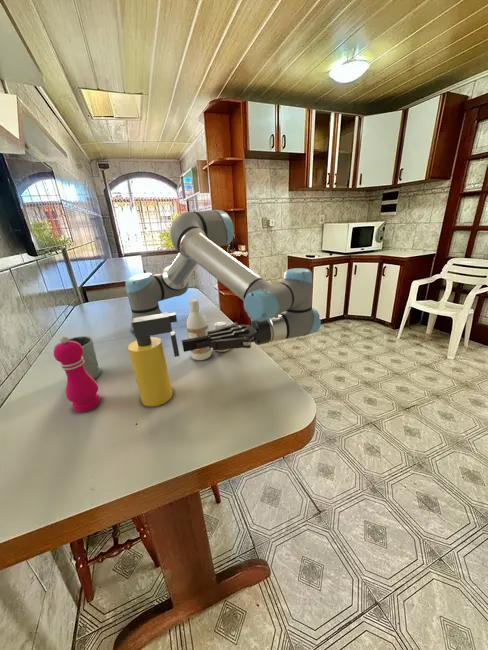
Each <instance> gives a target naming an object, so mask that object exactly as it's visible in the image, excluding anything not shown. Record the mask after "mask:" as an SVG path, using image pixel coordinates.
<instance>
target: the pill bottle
mask: <svg viewBox="0 0 488 650" xmlns="http://www.w3.org/2000/svg"><path fill="white" fill-rule="evenodd" d="M225 326H227V322H225V321H217V322H215V323H214V330H215V329H218V328H222V327H225ZM229 350H230V349H223V350H216V352H219V353H224V352H228V351H229Z"/></svg>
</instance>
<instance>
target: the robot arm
mask: <svg viewBox="0 0 488 650" xmlns="http://www.w3.org/2000/svg"><path fill="white" fill-rule="evenodd" d="M234 230H235V229H234V223H233V221H232V219H231V217H230V215H229V214H228V213H227V212H226V211H224V210H217V209H213V210H211V209H210V210H199V211H198V210H197V211H185V212H182V213H180V214H179V215H177V216H176V217H175V218H174V219H173V221H172V223H171V224H170V228H169V238H170V242H171V244H172V246H173V248H174V249H175V250H176V252H178V254H177V256H176V258H175V259H174V261H173V262H172V264H171V265H167V266H166V267H165V268H164V269H163V270H162V272H161V273H158V274H154V275H153V274H152V273H151V272H144V273H139V274H135V275H133V276H131V277H129V278H127V279H126V281H125V282H124V284H125V292H126V294H127V299H128V303H129V306H130V310H131V319H130V320H131V321H130V329H131V332H132V333H134V330H133V326H132V320H133V318H136V317H142V316H148V315H155V314H161V313H163V312H162V311H161V309H160V304H159V302H161V301H165V300H168V299H173V298H175V297H180V296H182V295H185V294H186V293H187V292H188V290H189V284H190V281H189V277H190V276H191V275H192V274H193V273H194V271H195V270H196V269H197V267H198V266H200V267H201V268H202V269H204V270H205V271H206V272H207V273H209V274H210V275H211V276H213V277H214V279H216V280H217V281H219V282H220V283H221V284H222V285H223V286H224V287H226V288H227V289H228V290H229V291H230V292H232V293H233V294H234V295H236V296H237V297H238V298H240V299H241V300H242V301H243V309H244V312H246V314H247V316H248V318H249V319H250V323H249V324H240V325H239V323H238V322H233V323H231V324H229V325H226V326H225V327H222V328H218V329H215V328H214V329H212V330H209V331H208V334H207V335H206V336H202V337H196V338H191V339H189V338H187V339H181V345H182V349H183V350H182V351H183V353H185V352H191V350H196V349H201V348H206V347H209V348H211V349H212V350H213V351H217V350H223V349H229V350H232V349H251V348H252V343H254V344H255V345H257V346H260V345H261V346H262V345H265V344H270V343H275V342H279V341H284V340H288V339H293V338H298V337H305V336H308V335H312V334H314V333H318V332H319V330H320V328H321V324H322V321H321V319H320V313H319V311H318V310H317V309H315V308H313V285H314V283H313V273H312V271H311V269H308V268H304V267H303V268H302V267H299V268H297V267H296V268H295V267H294V268H289V269H287V270H285V271H284V274H283V280H282V281H279V282H276V283H274V284H271V283H270V282H268V281H267V280H265V279H264V278H262V277H261V276H260V275H258V274H257V273H256V272H254V271H253V270H252V269H250V268H249V267H248V266H246V265H245V264H243V262H241V261H240V260H238V259H237V258H235V257H234V256H232V255H231V254H230V253H228V252H227V251H225V250H224V249H223V248H222V246H227V245H229V244H231V242H232V241H233V239H234V233H235V232H234Z"/></svg>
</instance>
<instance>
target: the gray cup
mask: <svg viewBox="0 0 488 650" xmlns="http://www.w3.org/2000/svg"><path fill="white" fill-rule="evenodd" d="M68 339H69V341H76V342H78V343H79V344H80V345H81V346H82V348H83V353H82V355H81V356H82V357H83V360H84V364H83V365H84V368H85V370H86V372H87V373H88V374H89V375H90V376H91V377H92V378H93V379H94V380H96V378H98V377H99V376H100V374H101V370H100V367H99V363H98V359H97V354H96V350H95V345H94V340H93V338H92V337H91V336H90V335H89V336H88V335H79V336H75V337H71V338H68ZM60 343H61V342H60V341H59V343H57V344H56V345H54V346H53V350H54V349H55V347H56V346H57V345H58V344H60ZM60 363H61V362H59V364H60ZM63 371H64V372H65V370H63Z"/></svg>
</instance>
